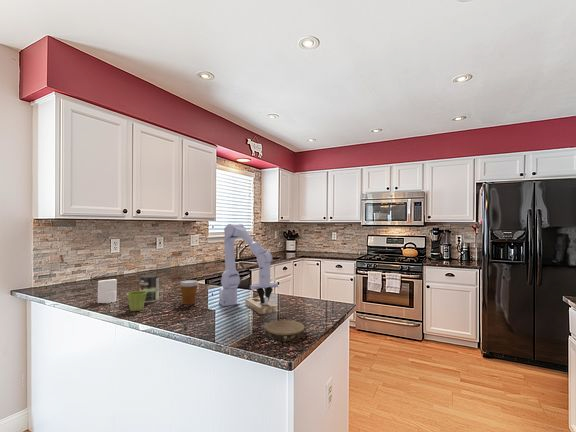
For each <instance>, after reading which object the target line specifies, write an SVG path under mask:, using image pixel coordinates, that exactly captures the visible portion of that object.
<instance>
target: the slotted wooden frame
mask: <svg viewBox="0 0 576 432" xmlns="http://www.w3.org/2000/svg"><path fill="white" fill-rule="evenodd" d="M244 302H245V306H247V307H249V308H250V309H252V310H253V311H255V312H256V313H257V314H259V315H264V314H271V313H272V314H273V313H276V312H277V311H278V310H277V309H278V307H277V305H276V304H274V303H272V302H271V301H270V300H269V301H268V306H265V307H264V306H262V305H261V301H260V297H259V296H258V297H252V298H245V300H244Z"/></svg>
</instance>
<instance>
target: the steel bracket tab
mask: <svg viewBox="0 0 576 432" xmlns="http://www.w3.org/2000/svg"><path fill="white" fill-rule="evenodd" d="M261 305H262V306H264V307H265V306H268V297H266V296H265V295H264V303H261Z"/></svg>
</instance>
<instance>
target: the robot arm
mask: <svg viewBox="0 0 576 432" xmlns="http://www.w3.org/2000/svg"><path fill="white" fill-rule="evenodd" d="M223 231H224V233H223V234H224V235H223V236H224V237H223V247H224V249H223V250H224V265H225V266H224V269H225V270H224V271H223V272H222V273H221V278H220V285H221V287H222V288H220V289H219V295H218V296H219V297H218V299H219V300H218V304H219V305H220V306H222V307H225V306H226V307H227V306H233V305H234V306H235V305H240V302H239V301H238V287H239V285H240V284H241V277H240V275H239V274H240V273H239V271H238V270H237V269H236V254H235V241H236V240H237V238H239V237H240V238H241V239H242V240H243V241H244V242H245V243H246V244H247V245H248V246H249V250H250V252H251V253H253V255H254V256H255V257H256V262H257V263H258V264H257V265H258V284H251V285H250V290H251V291H254V290H256V292H257V294H258V298H259V297H260V301H261V303H264V296H266V297H268V301H269V302H270V297H271V295H272V293H273V290H274V289H273V288H279V283H278V282H271V262H272V261H273V260H274V259H273V254H272V253H271V251H267V250H266V249H265V248H264V247H263V246H262V245H261V242H259V241H255V240H254V239H253V238H252V237H251V235H250V234H249V232H248V231H247V228H246V227H245V226H244V224H241V223H238V224H237V223H236V224H235V223H233V224H232V223H230V224H229V223H228V224H227V225H226V226H224V230H223Z"/></svg>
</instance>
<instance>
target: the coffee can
mask: <svg viewBox="0 0 576 432" xmlns="http://www.w3.org/2000/svg"><path fill="white" fill-rule="evenodd" d="M159 281H160V275H159V274H155V273H153V274H143V275H142V274H141V275H140V276H139V290H138V291H146V292H147V293H146V296H145V301H144V304H145V303H153V302H156V301H159V292H160V291H159V289H160V286H159V285H160V282H159Z"/></svg>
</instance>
